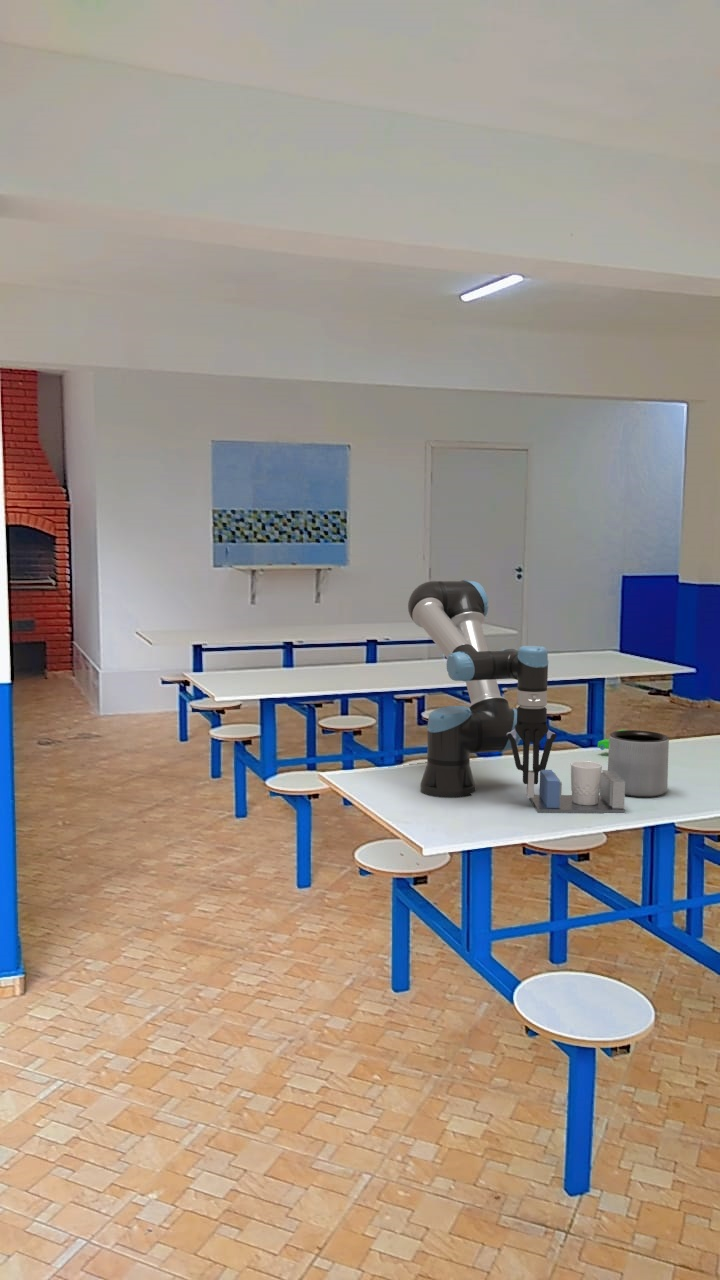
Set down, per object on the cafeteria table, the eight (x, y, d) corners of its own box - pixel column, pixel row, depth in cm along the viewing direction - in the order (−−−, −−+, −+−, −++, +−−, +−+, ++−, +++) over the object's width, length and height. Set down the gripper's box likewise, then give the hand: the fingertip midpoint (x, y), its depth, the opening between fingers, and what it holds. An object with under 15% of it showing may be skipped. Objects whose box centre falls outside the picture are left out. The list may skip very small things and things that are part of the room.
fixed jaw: (609, 808, 255) (610, 781, 254) (599, 796, 267) (600, 770, 266) (624, 808, 255) (625, 781, 254) (612, 796, 267) (613, 770, 266)
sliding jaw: (547, 807, 255) (547, 780, 255) (539, 795, 267) (540, 769, 267) (561, 808, 255) (562, 781, 255) (552, 795, 267) (553, 769, 266)
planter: (649, 782, 287) (651, 728, 285) (678, 797, 271) (680, 740, 269) (596, 785, 283) (598, 730, 281) (623, 800, 268) (625, 742, 266)
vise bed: (537, 813, 255) (537, 809, 254) (529, 798, 268) (529, 794, 268) (625, 814, 254) (625, 810, 254) (611, 799, 268) (611, 795, 268)
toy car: (637, 750, 329) (637, 730, 328) (628, 754, 323) (629, 733, 323) (605, 746, 336) (606, 726, 335) (596, 749, 330) (596, 729, 330)
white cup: (571, 805, 258) (572, 767, 257) (568, 797, 266) (569, 760, 265) (602, 806, 257) (603, 768, 256) (598, 798, 265) (599, 761, 264)
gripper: (508, 708, 255) (506, 799, 257) (559, 709, 255) (557, 800, 257) (504, 703, 262) (503, 792, 265) (555, 704, 262) (552, 792, 264)
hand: (530, 796), depth 261 cm, fingers closed
